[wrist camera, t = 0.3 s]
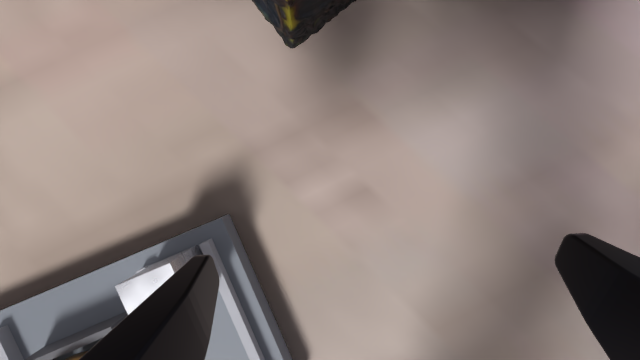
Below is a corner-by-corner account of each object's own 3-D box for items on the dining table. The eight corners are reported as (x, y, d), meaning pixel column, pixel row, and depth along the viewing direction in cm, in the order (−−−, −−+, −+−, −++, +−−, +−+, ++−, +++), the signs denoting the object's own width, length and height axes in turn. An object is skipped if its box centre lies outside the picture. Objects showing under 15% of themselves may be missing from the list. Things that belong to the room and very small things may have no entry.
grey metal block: (216, 287, 20) (193, 316, 16) (172, 306, 20) (139, 339, 16) (197, 244, 20) (169, 262, 16) (153, 263, 20) (114, 286, 16)
